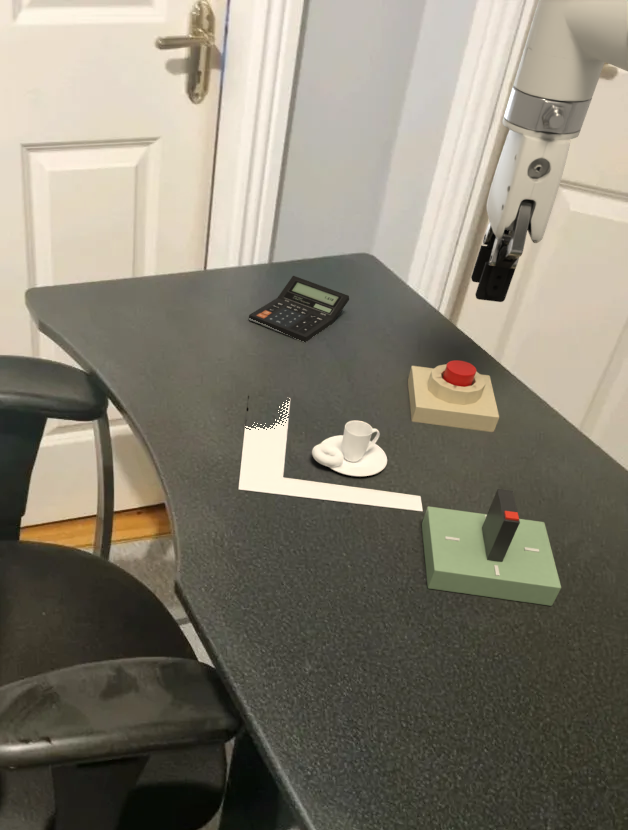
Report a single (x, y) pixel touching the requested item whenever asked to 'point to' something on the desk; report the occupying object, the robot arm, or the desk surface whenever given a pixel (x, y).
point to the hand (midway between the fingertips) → (487, 289)
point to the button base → (451, 400)
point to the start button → (459, 373)
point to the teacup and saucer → (337, 452)
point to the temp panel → (471, 571)
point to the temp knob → (500, 525)
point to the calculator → (302, 309)
